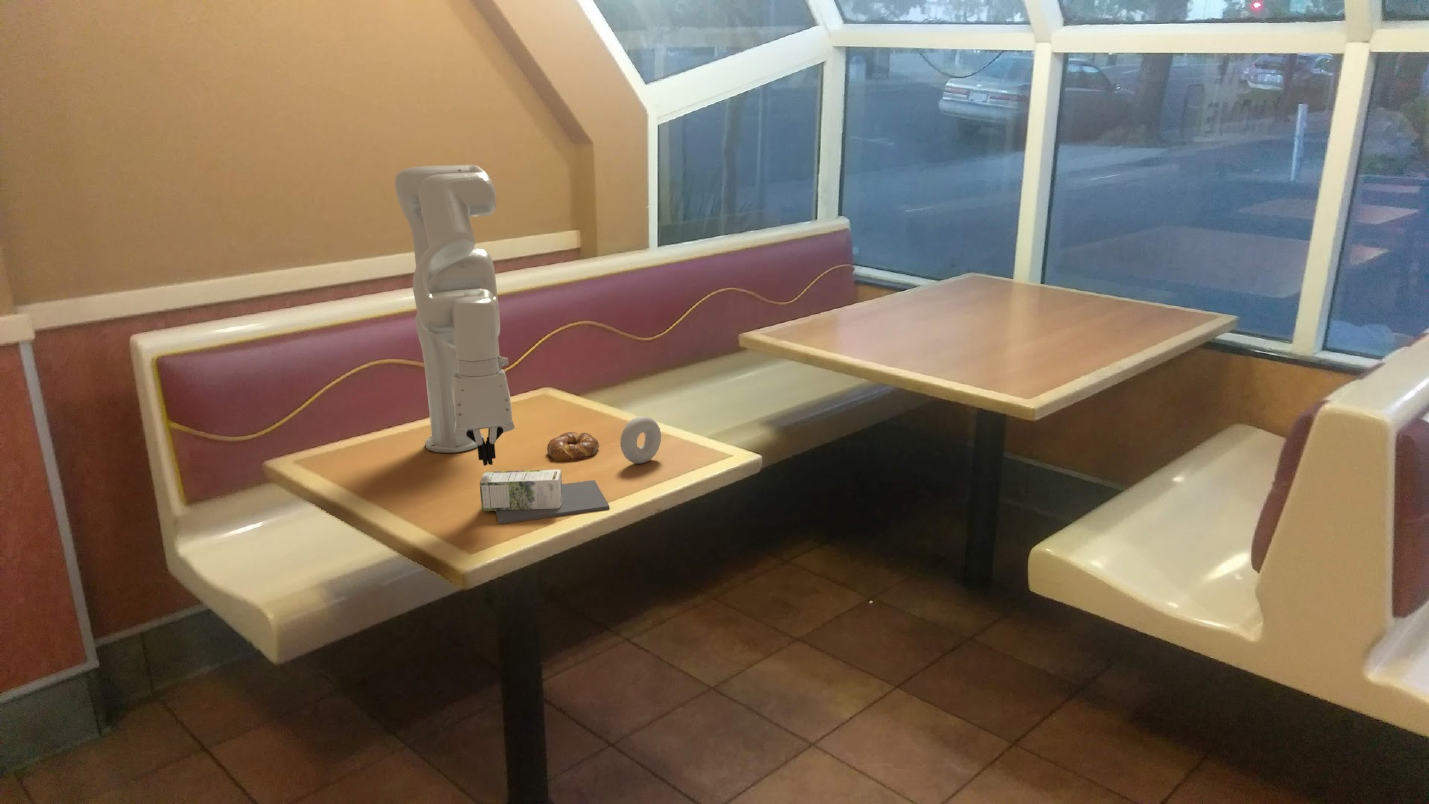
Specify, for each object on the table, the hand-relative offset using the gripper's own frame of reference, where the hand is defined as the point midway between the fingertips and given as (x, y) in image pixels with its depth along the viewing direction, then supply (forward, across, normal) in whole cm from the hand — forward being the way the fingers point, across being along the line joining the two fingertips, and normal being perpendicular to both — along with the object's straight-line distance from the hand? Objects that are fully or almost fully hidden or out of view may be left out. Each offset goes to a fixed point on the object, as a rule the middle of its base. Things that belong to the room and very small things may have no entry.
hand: (487, 462), depth 185 cm
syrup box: (+5, +2, +1) cm, 5 cm away
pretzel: (+9, -20, -24) cm, 33 cm away
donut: (+9, -32, -13) cm, 36 cm away
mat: (+9, -10, +2) cm, 14 cm away
